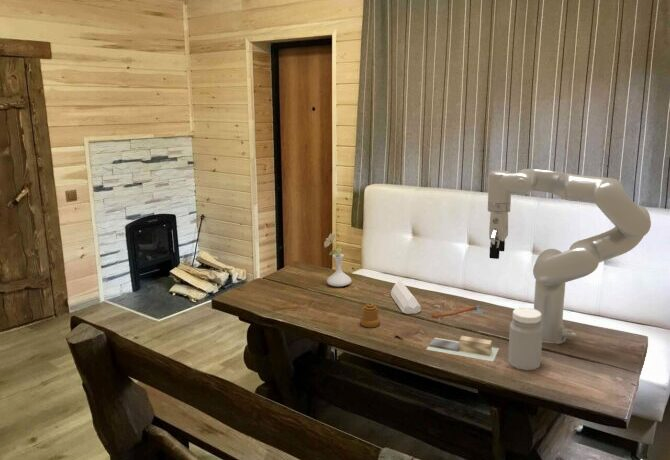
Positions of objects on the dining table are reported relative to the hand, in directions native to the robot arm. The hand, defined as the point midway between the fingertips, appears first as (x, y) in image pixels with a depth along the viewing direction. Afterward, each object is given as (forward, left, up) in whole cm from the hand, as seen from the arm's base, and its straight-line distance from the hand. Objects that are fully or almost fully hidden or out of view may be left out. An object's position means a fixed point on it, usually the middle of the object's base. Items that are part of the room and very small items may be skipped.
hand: (497, 254), depth 196 cm
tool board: (+6, +22, -28) cm, 36 cm away
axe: (+14, -9, -29) cm, 34 cm away
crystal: (+38, -11, -29) cm, 49 cm away
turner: (+7, +22, -27) cm, 36 cm away
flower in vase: (+74, -22, -28) cm, 82 cm away
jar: (-14, +24, -28) cm, 40 cm away
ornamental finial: (+43, +13, -29) cm, 53 cm away
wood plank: (+24, +16, -28) cm, 40 cm away
